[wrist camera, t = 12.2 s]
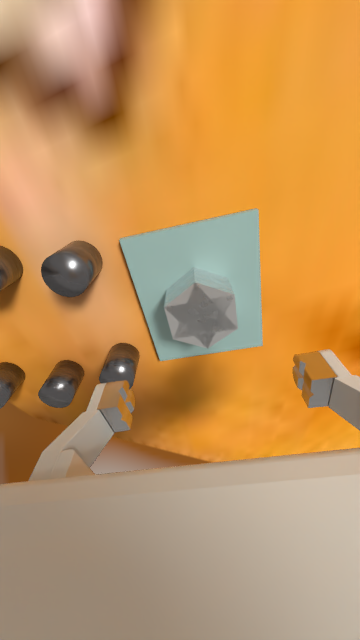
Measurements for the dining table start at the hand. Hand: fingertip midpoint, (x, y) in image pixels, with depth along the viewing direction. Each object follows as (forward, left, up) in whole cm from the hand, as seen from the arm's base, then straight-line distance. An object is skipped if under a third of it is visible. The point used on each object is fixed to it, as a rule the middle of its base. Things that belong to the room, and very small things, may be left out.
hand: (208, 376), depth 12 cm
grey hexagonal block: (+1, 0, -9) cm, 9 cm away
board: (+1, 0, -10) cm, 10 cm away
